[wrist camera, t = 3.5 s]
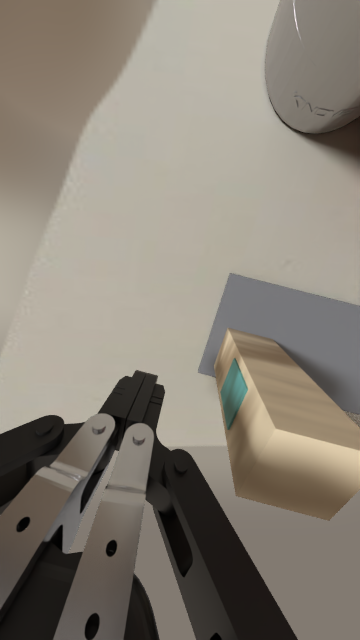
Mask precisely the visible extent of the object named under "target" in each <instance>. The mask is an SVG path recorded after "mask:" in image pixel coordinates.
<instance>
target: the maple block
mask: <svg viewBox="0 0 360 640" xmlns="http://www.w3.org/2000/svg"><path fill="white" fill-rule="evenodd" d="M214 369H215V375H216V381H217V387H218V393H219V399H220V405H221V411H222V417H223V423H224V428H225V434H226V440H227V446H228V452H229V458H230V464H231V470H232V476H233V482H234V488H235V494H236V496H238V497H242V498H246V499H249V500H253V501H257V502H261V503H264V504H268V505H272V506H276V507H280V508H283V509H287V510H291V511H294V512H298V513H302V514H306V515H309V516H313V517H317V518H321V519H324V520H330V519H331V518H332V517H333V516H334V515H335V514H336V513H337V512H338V511H339V510H340V509H341V508H342V507H343V506H344V505H345V504H346V503H347V502H348V501H349V500H350V499H351V498H352V497H353V496H354V495H355V494H356V493H357V492H358V491H359V490H360V428H359V427H358V426H357V425H356V424H355V423H354V421H353V420H352V419H351V418H350V417H349V416H348V415H347V414H346V413H345V412H344V411H343V410H342V409H341V408H340V407H339V406H338V405H337V404H336V403H335V402H334V401H333V400H332V399H331V398H330V397H329V396H328V395H327V394H326V393H325V392H324V391H323V390H322V389H321V388H320V387H319V386H318V385H317V384H316V383H315V382H314V381H313V380H312V379H311V378H310V377H309V376H308V375H307V374H306V373H305V372H304V371H303V370H302V369H301V368H300V367H299V366H298V365H297V364H296V363H295V362H294V361H293V360H292V359H291V358H290V357H289V356H288V355H287V354H286V352H285V351H284V350H283V349H282V348H281V347H280V346H279V345H278V344H277V343H276V342H275V341H274V340H273V339H270V338H266V337H262V336H258V335H254V334H250V333H247V332H243V331H239V330H235V329H231V328H227V331H226V333H225V336H224V339H223V342H222V345H221V347H220V350H219V353H218V356H217V358H216V361H215V364H214Z"/></svg>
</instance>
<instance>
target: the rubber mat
mask: <svg viewBox="0 0 360 640" xmlns="http://www.w3.org/2000/svg"><path fill="white" fill-rule="evenodd" d="M227 328H231V329H235V330H239V331H243V332H247V333H250V334H254V335H258V336H262V337H266V338H270V339H273V340H274V341H275V342H276V343H277V344H278V345H279V346H280V347H281V348H282V349H283V350H284V351H285V352H286V354H287V355H288V356H289V357H290V358H291V359H292V360H293V361H294V362H295V363H296V364H297V365H298V366H299V367H300V368H301V369H302V370H303V371H304V372H305V373H306V374H307V375H308V376H309V377H310V378H311V379H312V380H313V381H314V382H315V383H316V384H317V385H318V386H319V387H320V388H321V389H322V390H323V391H324V392H325V393H326V394H327V395H328V396H329V397H330V398H331V399H332V400H333V401H334V402H335V403H336V404H337V405H338V406H339V407H340V408H341V409H342V410H344V411H347V412H351V413H355V414H360V306H357V305H353V304H349V303H346V302H342V301H338V300H334V299H330V298H326V297H322V296H318V295H314V294H310V293H306V292H302V291H298V290H294V289H291V288H287V287H283V286H279V285H275V284H271V283H267V282H263V281H259V280H255V279H251V278H247V277H243V276H239V275H235V274H232V273H230V275H229V278H228V281H227V284H226V287H225V290H224V293H223V296H222V299H221V302H220V305H219V308H218V311H217V314H216V317H215V320H214V323H213V327H212V330H211V333H210V336H209V339H208V342H207V345H206V348H205V351H204V354H203V357H202V360H201V363H200V366H199V369H198V373H201V374H205V375H209V376H213V377H216V375H215V369H214V364H215V361H216V358H217V356H218V353H219V350H220V347H221V345H222V342H223V339H224V336H225V333H226V331H227Z"/></svg>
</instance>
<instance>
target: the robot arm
mask: <svg viewBox="0 0 360 640" xmlns="http://www.w3.org/2000/svg"><path fill="white" fill-rule="evenodd" d="M265 79H266V84H267V89H268V95H269V97H270V100H271V102H272V105H273V107H274V109H275V111H276V112H277V113H278V115H279V116H280V117H281V119H282V120H283V121H284V122H286V123H287V124H288V125H289V126H291V127H292V128H294V129H297V130H299V131H301V132H305V133H315V134H317V133H324V132H330V131H333V130H335V129H338V128H340V127H343V126H345V125H346V124H348V123H350V122H351V121H353V120H354V119H356V118H357V117H359V116H360V0H280V2H279V5H278V8H277V11H276V14H275V18H274V21H273V24H272V28H271V31H270V35H269V38H268V43H267V50H266V58H265ZM157 378H158V376H157V375H153V374H150V373H145V372H142V371H138V370H136V371H135V373H134V374H133V376H132V377H128V376H125V377H123V378H122V379H120V380H119V382H118V383H117V385H116V386H115V388H114V389H113V391H112V393H111V394H110V395H109V397H108V398H107V400H106V401H105V403H104V405H103V406H102V408H101V409H100V411H99V412H98V414H96V415H94V416H92V417H90V418H89V419H88V420H87V421H86V422H83V423H76V424H64V421H63V419H62V418H61V417H59V416H56V415H48V416H44V417H41V418H39V419H36V420H34V421H31V422H29V423H26V424H24V425H22V426H19V427H17V428H14V429H12V430H9V431H7V432H4V433H2V434H0V640H159V635H158V631H157V626H156V622H155V618H154V613H153V610H152V607H151V603H150V600H149V598H148V595H147V593H146V591H145V589H144V587H143V585H142V583H141V582H140V580H139V579H138V577H137V576H136V575H135V574H134V568H135V562H136V556H137V549H138V543H139V537H140V530H141V523H142V517H143V510H144V505H145V500H147V501H148V502H149V503H150V504H151V505H153V510H154V513H155V517H156V519H157V522H158V526H159V529H160V532H161V534H162V537H163V540H164V543H165V547H166V550H167V553H168V556H169V559H170V562H171V565H172V567H173V571H174V574H175V577H176V580H177V583H178V586H179V589H180V592H181V595H182V598H183V601H184V604H185V607H186V610H187V613H188V616H189V619H190V622H191V625H192V628H193V631H194V634H195V637H196V640H298V639H297V637H296V636H295V634H294V632H293V630H292V629H291V627H290V625H289V624H288V622H287V620H286V618H285V617H284V615H283V613H282V611H281V610H280V608H279V606H278V605H277V603H276V601H275V599H274V598H273V596H272V594H271V592H270V591H269V589H268V587H267V586H266V584H265V582H264V580H263V579H262V577H261V575H260V574H259V572H258V570H257V568H256V567H255V565H254V563H253V561H252V560H251V558H250V556H249V555H248V553H247V551H246V550H245V547H244V546H243V544H242V542H241V541H240V539H239V537H238V535H237V534H236V532H235V531H234V528H233V527H232V525H231V523H230V522H229V520H228V518H227V517H226V515H225V513H224V511H223V509H222V508H221V506H220V504H219V503H218V501H217V499H216V498H215V496H214V494H213V492H212V490H211V489H210V487H209V485H208V483H207V482H206V480H205V478H204V477H203V475H202V473H201V471H200V470H199V468H198V466H197V464H196V463H195V461H194V460H193V458H192V456H191V455H190V454H189V453H188V452H186V451H184V450H182V449H175V450H172V451H170V450H169V449H168V448H166V447H165V446H163V445H162V444H161V443H160V441H159V440H158V438H157V434H156V428H157V423H158V419H159V415H160V411H161V407H162V403H163V399H164V394H165V390H164V386H163V385H159V384H156V382H157ZM115 450H117V451H119V453H118V456H117V459H116V462H115V465H114V468H113V471H112V474H111V477H110V479H109V482H108V485H107V486H106V488H105V490H104V492H103V495H102V498H101V501H100V504H99V507H98V510H97V512H96V515H95V518H94V521H93V524H92V527H91V530H90V533H89V536H88V539H87V542H86V545H85V548H84V551H83V552H77V553H71V554H68V552H69V550H70V548H71V546H72V544H73V541H74V539H75V537H76V534H77V531H78V529H79V526H80V523H81V521H82V518H83V516H84V514H85V512H86V510H87V508H88V506H89V504H90V502H91V500H92V498H93V496H94V494H95V492H96V490H97V488H98V486H99V484H100V482H101V480H102V478H103V476H104V474H105V472H106V470H107V468H108V465H109V462H110V460H111V458H112V455H113V453H114V451H115ZM25 528H26V529H25Z"/></svg>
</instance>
